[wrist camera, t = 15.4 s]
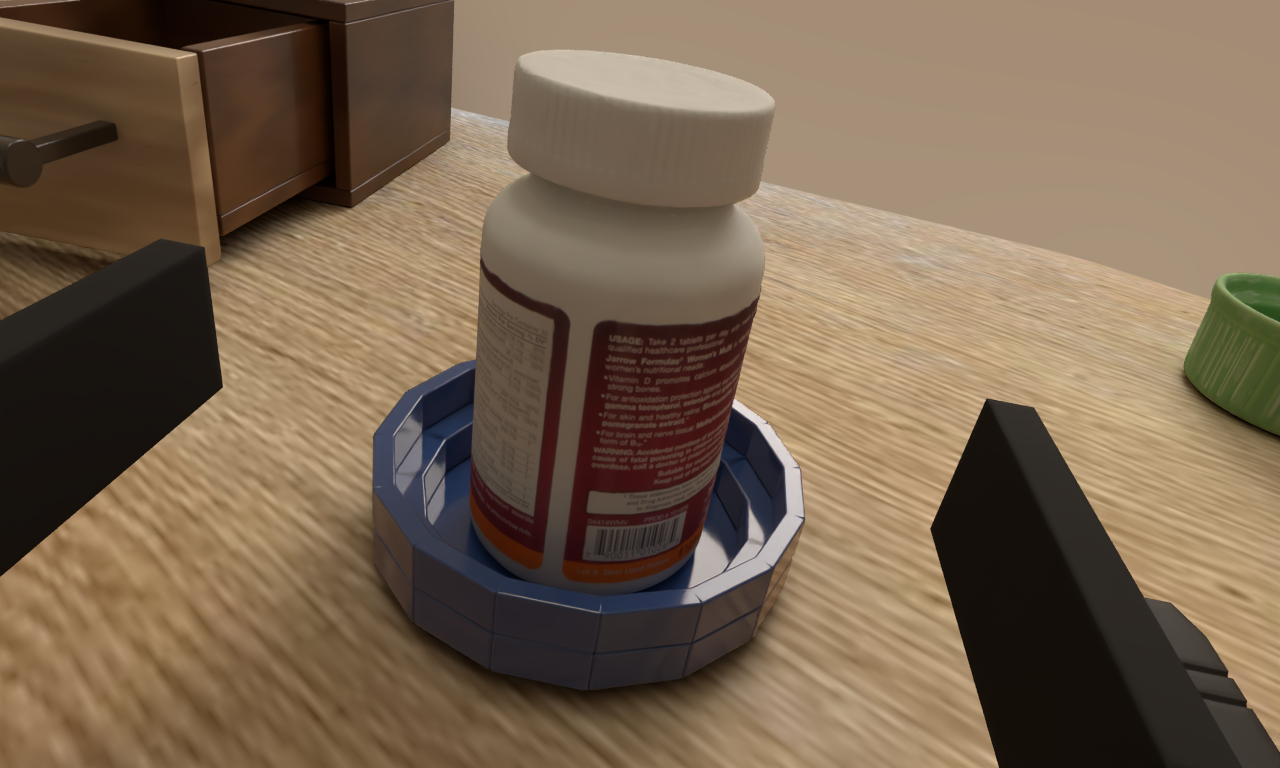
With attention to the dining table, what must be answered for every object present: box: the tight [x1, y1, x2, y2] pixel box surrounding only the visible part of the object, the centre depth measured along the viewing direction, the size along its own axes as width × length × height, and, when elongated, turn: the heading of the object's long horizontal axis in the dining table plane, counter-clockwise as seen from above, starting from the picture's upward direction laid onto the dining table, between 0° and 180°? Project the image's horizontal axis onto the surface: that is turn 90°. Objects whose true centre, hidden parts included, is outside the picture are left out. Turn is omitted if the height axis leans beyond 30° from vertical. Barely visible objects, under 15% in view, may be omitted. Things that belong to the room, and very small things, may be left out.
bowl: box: [372, 360, 805, 691], centre depth 21 cm, size 11×11×3 cm
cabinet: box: [220, 0, 454, 207], centre depth 43 cm, size 15×12×9 cm
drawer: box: [0, 0, 335, 267], centre depth 31 cm, size 18×10×7 cm, turn 173°
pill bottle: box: [470, 50, 775, 596], centre depth 19 cm, size 6×6×11 cm
